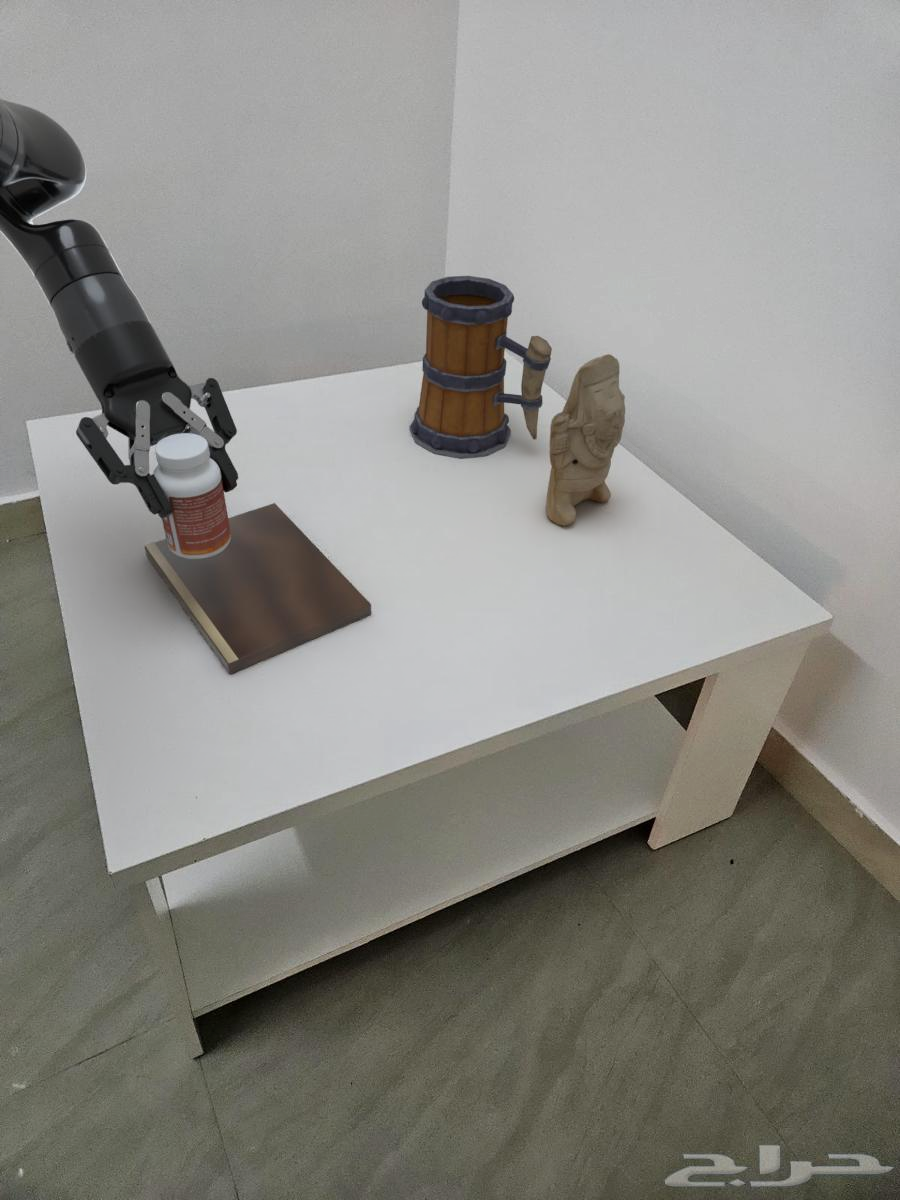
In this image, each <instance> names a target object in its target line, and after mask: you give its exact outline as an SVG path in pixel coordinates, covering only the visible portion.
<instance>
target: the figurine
mask: <svg viewBox="0 0 900 1200" xmlns="http://www.w3.org/2000/svg"><path fill="white" fill-rule="evenodd" d="M621 390H622V389H620V362H619V360H618V358H616V357H614V355H612V354H609V353H608V354H607V353H606V354H604V355H602V356H597V357H595V358H592V359H590V360H588V361H587V362H585V363H584V364H583V365H582V366H581V367H579V368H578V370H577V372H576V374H575V376H574V378H573V380H572V383H571V386H570V391H569V394H568V396H567V399H566V401H565V404H564V406H563V408H562V411H561V412H558V413H557V414H555V415H554V416H553V418H552V419H551V422H550V426H549V427H550V429H549V463H550V466H551V468H550V472H549V479H548V486H547V491H546V503H545V512H546V516H547V518H548V520H550V521H551V522H553V523H555V524H557V525H559V526H563V527H565V526H568V525H571V524H573V523H574V521H575V520H576V517H577V510H576V508H575V506H576V505H578V504H580V502H584V501H587V500H591V501H594V502H597V503H605V502H608V501H609V500H610V499H611V496H612V493H611V491H610V488H609V487H608V486H607V483H606V479H607V477H608V475H609V473H610V470H611V465H612V458H613V456H614V455H613V454H614V451H615V448H616V447H617V446H618V445H619V444H620V442H621V440H622V435H623V428H624V426H625V421H626V404H625V403H626V402H625V400H626V399H625V398H626V397H625V394H624V393H622V391H621Z"/></svg>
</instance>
